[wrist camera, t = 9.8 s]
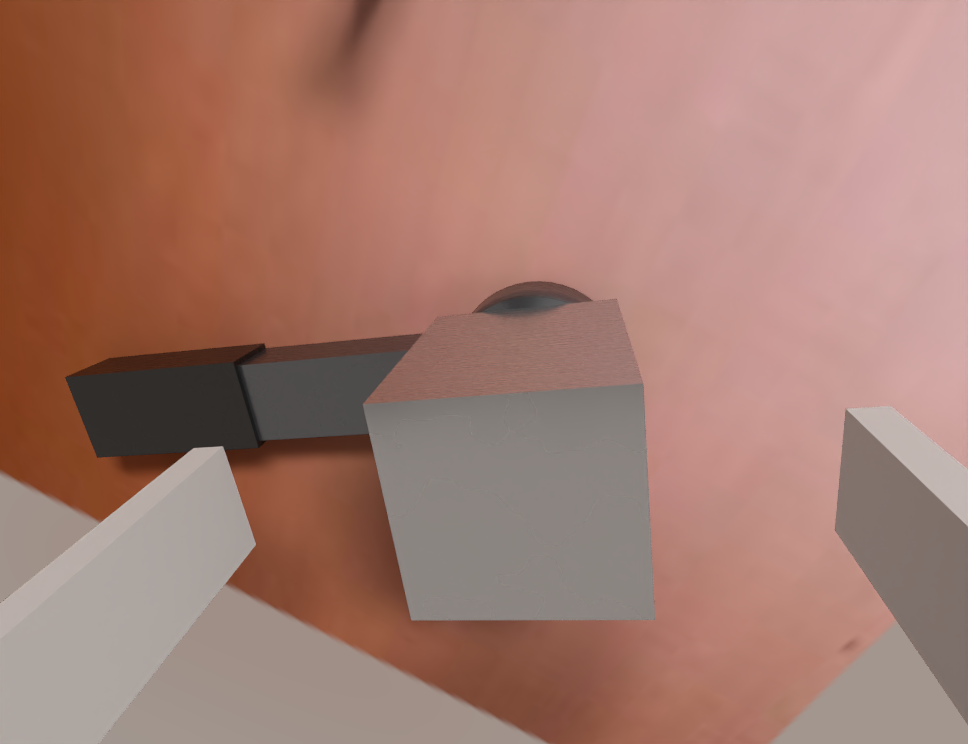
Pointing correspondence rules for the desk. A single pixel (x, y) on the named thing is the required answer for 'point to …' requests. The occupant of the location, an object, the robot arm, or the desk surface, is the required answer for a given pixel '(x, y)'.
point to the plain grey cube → (518, 467)
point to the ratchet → (252, 388)
